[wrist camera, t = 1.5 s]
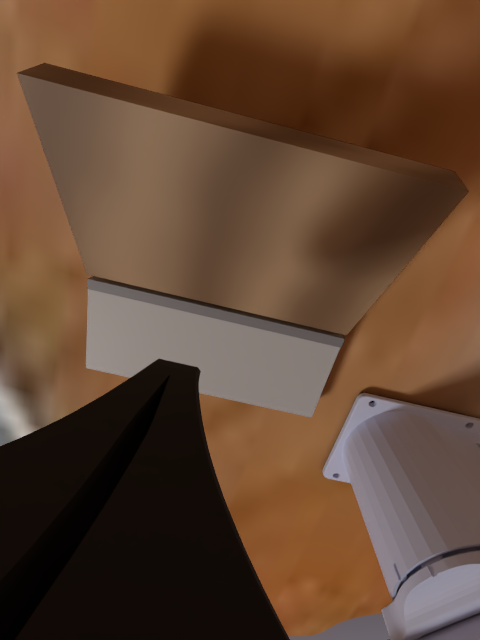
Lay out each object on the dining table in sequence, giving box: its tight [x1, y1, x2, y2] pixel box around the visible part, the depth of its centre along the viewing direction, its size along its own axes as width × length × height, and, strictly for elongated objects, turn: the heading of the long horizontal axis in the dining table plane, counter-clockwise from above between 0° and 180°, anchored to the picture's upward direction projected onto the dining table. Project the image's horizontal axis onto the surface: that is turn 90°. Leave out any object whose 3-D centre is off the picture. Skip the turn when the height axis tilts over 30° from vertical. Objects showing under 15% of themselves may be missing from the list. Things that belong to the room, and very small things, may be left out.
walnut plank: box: [17, 63, 469, 335], centre depth 13 cm, size 15×9×2 cm, turn 77°
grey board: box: [86, 276, 345, 417], centre depth 18 cm, size 15×6×2 cm, turn 77°
